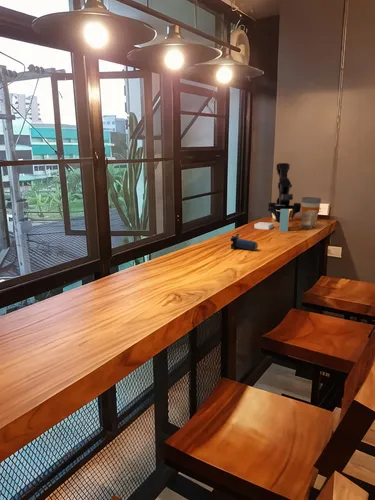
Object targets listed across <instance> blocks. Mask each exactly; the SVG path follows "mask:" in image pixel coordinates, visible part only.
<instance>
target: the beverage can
mask: <svg viewBox="0 0 375 500" xmlns="http://www.w3.org/2000/svg"><path fill="white" fill-rule="evenodd" d="M239 236H240V234H239V233H237V234H235V235H231V238H230V242H232V243H231V244H230V250H234V249H236V248H239V249H243V250H248V251H253V252H254V251H257V250H258V246H259V244H258V242H256V241H255V240H249V239H244V238H240V237H239Z"/></svg>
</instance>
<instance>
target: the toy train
mask: <svg viewBox="0 0 375 500" xmlns="http://www.w3.org/2000/svg"><path fill="white" fill-rule="evenodd" d="M301 213H302V212H301ZM316 217H317V218H318V216H317V210H307V211H306V212H303V213H302V216H301V221H300V226H301V229H305V230H306V229H307V230H312V228H315V227H316V224H317V220H316Z"/></svg>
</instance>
